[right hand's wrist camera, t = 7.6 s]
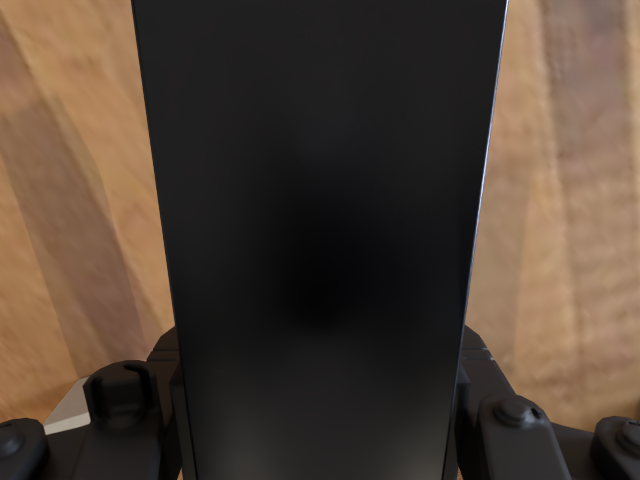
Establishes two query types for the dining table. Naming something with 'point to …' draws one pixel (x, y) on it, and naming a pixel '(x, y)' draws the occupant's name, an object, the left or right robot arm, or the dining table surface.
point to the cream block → (69, 411)
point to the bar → (319, 223)
